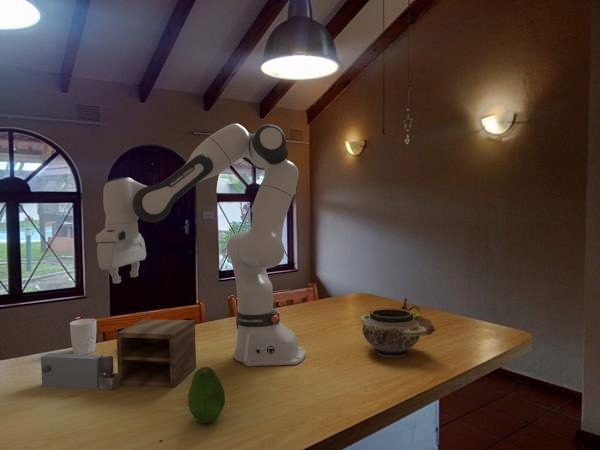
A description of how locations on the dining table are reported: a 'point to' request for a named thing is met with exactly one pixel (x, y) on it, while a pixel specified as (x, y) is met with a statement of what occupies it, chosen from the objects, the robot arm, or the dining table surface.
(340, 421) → the dining table surface
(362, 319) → the ceramic bowl
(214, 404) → the avocado
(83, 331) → the white cup
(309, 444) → the dining table surface
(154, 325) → the cabinet
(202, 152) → the robot arm
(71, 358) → the grey box
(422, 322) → the plant
